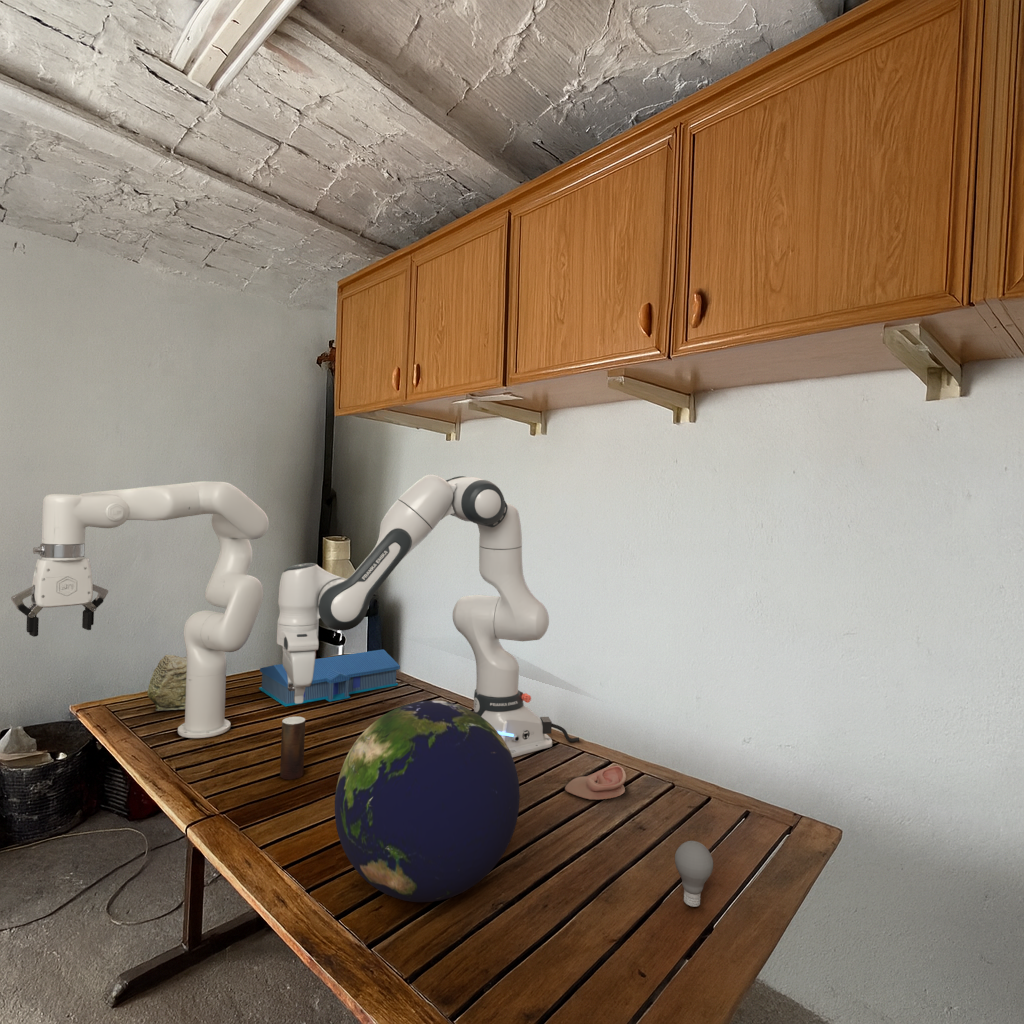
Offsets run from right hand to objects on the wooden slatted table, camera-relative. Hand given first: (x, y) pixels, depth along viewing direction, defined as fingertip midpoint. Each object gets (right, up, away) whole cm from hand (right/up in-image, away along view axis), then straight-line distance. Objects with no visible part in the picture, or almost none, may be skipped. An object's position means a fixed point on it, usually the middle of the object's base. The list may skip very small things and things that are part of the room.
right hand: (295, 696), depth 143 cm
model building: (-10, -16, +65) cm, 68 cm away
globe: (+35, -20, -38) cm, 56 cm away
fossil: (-47, -15, +42) cm, 65 cm away
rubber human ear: (+68, -21, 0) cm, 71 cm away
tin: (-1, -18, +1) cm, 18 cm away
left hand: (-47, +16, -8) cm, 50 cm away
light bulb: (+78, -22, -40) cm, 91 cm away
